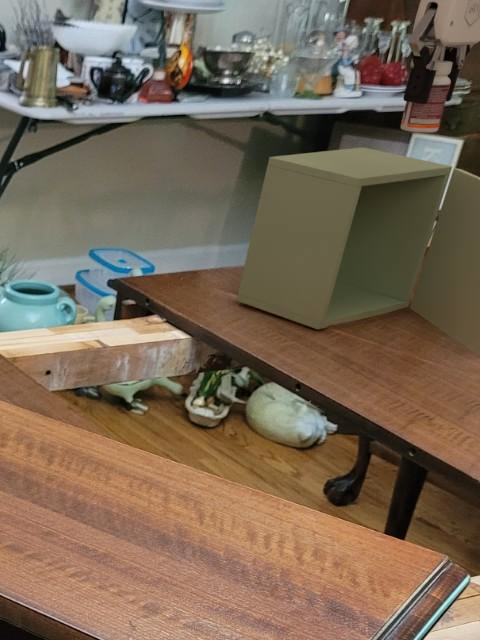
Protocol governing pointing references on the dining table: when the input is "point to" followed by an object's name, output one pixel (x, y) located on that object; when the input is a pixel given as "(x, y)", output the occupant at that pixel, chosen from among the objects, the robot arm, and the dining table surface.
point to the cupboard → (340, 234)
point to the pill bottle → (429, 103)
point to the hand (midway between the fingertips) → (426, 99)
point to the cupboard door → (454, 265)
